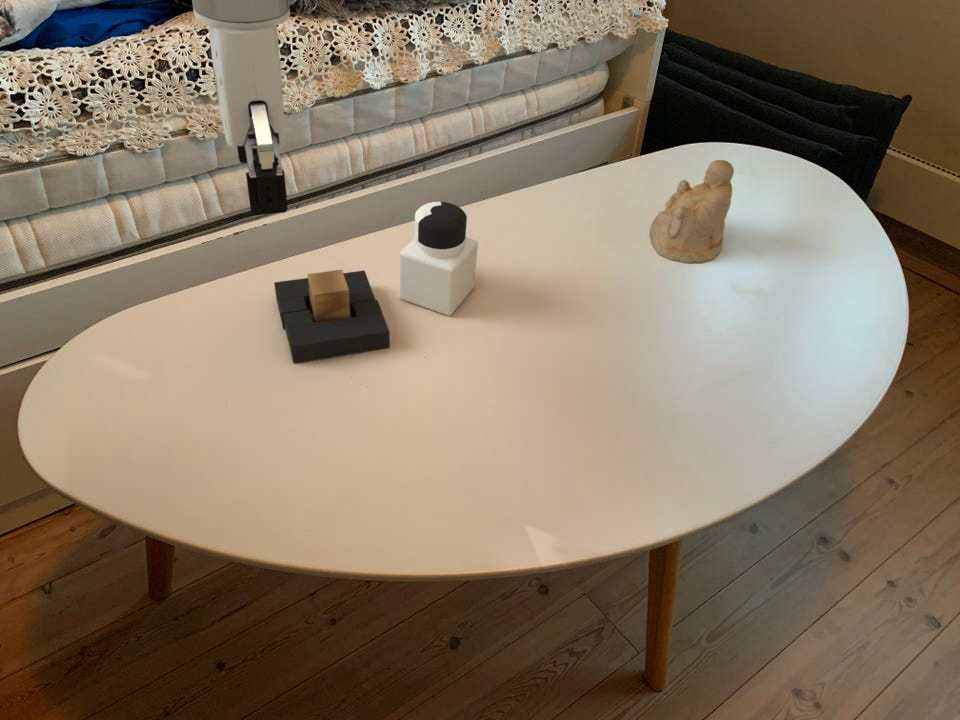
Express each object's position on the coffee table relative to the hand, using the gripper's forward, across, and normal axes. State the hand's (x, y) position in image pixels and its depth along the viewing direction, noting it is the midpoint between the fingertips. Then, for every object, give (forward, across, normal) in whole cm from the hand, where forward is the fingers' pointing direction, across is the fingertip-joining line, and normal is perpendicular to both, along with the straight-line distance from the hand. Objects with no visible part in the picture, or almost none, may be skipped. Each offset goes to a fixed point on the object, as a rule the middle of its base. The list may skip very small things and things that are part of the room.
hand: (262, 185), depth 74 cm
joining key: (+21, -4, +6) cm, 22 cm away
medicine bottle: (+21, -6, +20) cm, 30 cm away
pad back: (+21, -7, +6) cm, 23 cm away
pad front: (+21, -1, +6) cm, 22 cm away
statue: (+21, -10, +58) cm, 63 cm away
